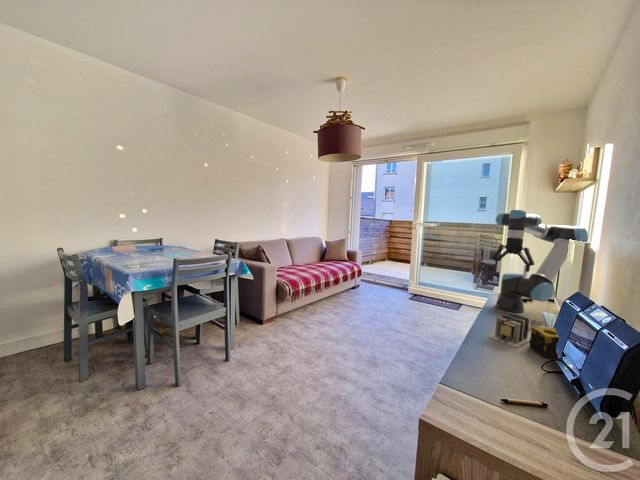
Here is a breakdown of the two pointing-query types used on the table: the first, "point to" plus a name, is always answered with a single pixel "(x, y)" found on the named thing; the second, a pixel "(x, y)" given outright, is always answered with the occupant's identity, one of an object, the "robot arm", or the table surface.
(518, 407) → the table surface
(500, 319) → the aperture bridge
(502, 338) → the long cream board
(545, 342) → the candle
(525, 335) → the collar
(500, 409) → the table surface
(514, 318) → the collar
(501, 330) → the long golden plank
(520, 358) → the table surface
